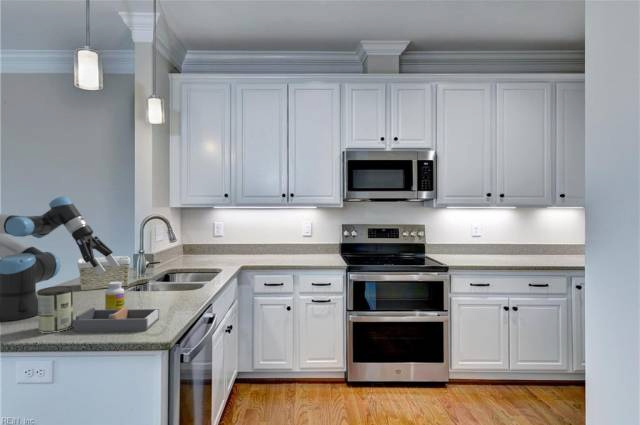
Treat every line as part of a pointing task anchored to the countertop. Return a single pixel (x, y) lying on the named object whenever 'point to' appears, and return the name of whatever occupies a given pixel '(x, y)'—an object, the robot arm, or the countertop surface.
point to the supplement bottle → (114, 296)
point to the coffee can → (55, 309)
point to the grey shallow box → (115, 320)
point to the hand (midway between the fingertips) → (109, 270)
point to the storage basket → (96, 281)
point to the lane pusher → (120, 314)
